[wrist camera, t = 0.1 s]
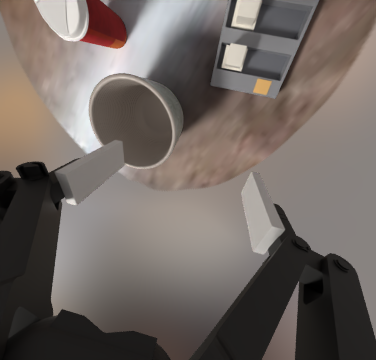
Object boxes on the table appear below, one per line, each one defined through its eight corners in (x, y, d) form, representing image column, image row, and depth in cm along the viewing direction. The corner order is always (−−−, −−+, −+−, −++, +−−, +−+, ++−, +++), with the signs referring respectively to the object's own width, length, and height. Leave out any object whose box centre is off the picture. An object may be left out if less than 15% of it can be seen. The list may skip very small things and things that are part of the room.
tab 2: (226, 47, 29) (227, 40, 24) (246, 50, 29) (251, 44, 24) (221, 68, 31) (221, 65, 26) (240, 72, 31) (243, 69, 26)
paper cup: (105, -7, 29) (29, -67, 17) (137, 27, 31) (88, -7, 19) (93, 36, 33) (24, 10, 21) (122, 64, 35) (74, 53, 23)
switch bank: (248, -90, 22) (252, -116, 19) (345, -77, 21) (365, -102, 18) (210, 85, 34) (210, 85, 31) (270, 97, 33) (275, 98, 30)
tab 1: (236, 2, 26) (240, -17, 21) (259, 5, 25) (268, -12, 21) (230, 28, 28) (232, 17, 23) (251, 32, 27) (258, 22, 23)
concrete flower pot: (153, 58, 33) (114, 42, 21) (203, 117, 38) (195, 133, 25) (118, 113, 41) (75, 126, 29) (163, 156, 46) (142, 182, 34)
